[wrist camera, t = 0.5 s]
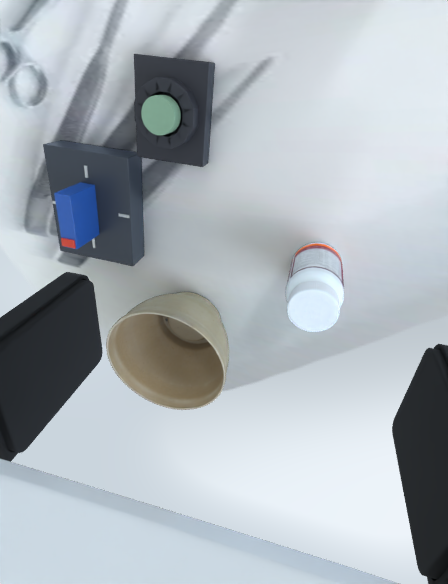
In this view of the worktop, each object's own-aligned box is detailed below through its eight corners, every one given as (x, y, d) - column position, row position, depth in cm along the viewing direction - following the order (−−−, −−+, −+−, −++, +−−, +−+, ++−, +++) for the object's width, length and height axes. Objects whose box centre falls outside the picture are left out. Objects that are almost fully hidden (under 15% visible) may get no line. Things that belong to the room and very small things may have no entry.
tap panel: (61, 140, 45) (41, 144, 42) (141, 152, 43) (127, 158, 40) (75, 241, 53) (59, 251, 50) (144, 255, 51) (132, 266, 48)
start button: (148, 92, 36) (140, 93, 35) (181, 97, 36) (175, 97, 34) (148, 130, 38) (141, 132, 37) (180, 135, 38) (174, 137, 36)
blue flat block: (80, 182, 44) (52, 193, 39) (95, 184, 43) (68, 196, 39) (86, 231, 47) (61, 247, 43) (99, 234, 47) (76, 250, 42)
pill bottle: (323, 292, 47) (322, 346, 37) (282, 270, 46) (270, 318, 37) (352, 256, 43) (358, 305, 34) (308, 231, 43) (302, 274, 34)
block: (143, 55, 38) (125, 52, 35) (215, 63, 37) (203, 61, 33) (145, 153, 43) (129, 159, 40) (208, 163, 42) (197, 170, 39)
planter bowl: (126, 278, 54) (85, 319, 45) (226, 263, 48) (202, 306, 39) (163, 361, 61) (133, 411, 52) (254, 356, 55) (239, 411, 46)
